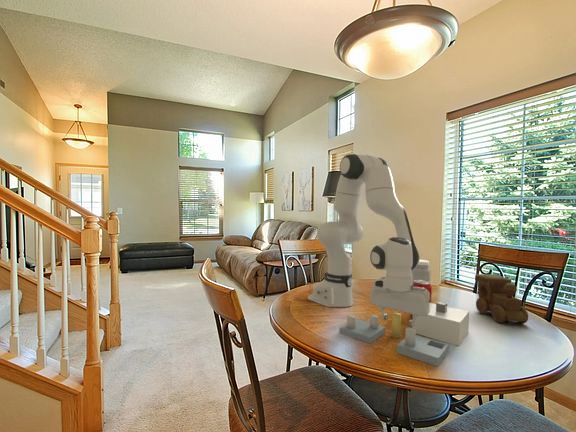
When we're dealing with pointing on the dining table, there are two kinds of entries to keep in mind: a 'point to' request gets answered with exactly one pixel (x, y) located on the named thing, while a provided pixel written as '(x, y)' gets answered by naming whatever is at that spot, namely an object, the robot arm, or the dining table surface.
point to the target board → (422, 348)
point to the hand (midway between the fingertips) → (398, 322)
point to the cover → (444, 323)
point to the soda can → (424, 286)
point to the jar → (421, 271)
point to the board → (362, 328)
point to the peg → (396, 325)
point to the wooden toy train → (499, 299)
